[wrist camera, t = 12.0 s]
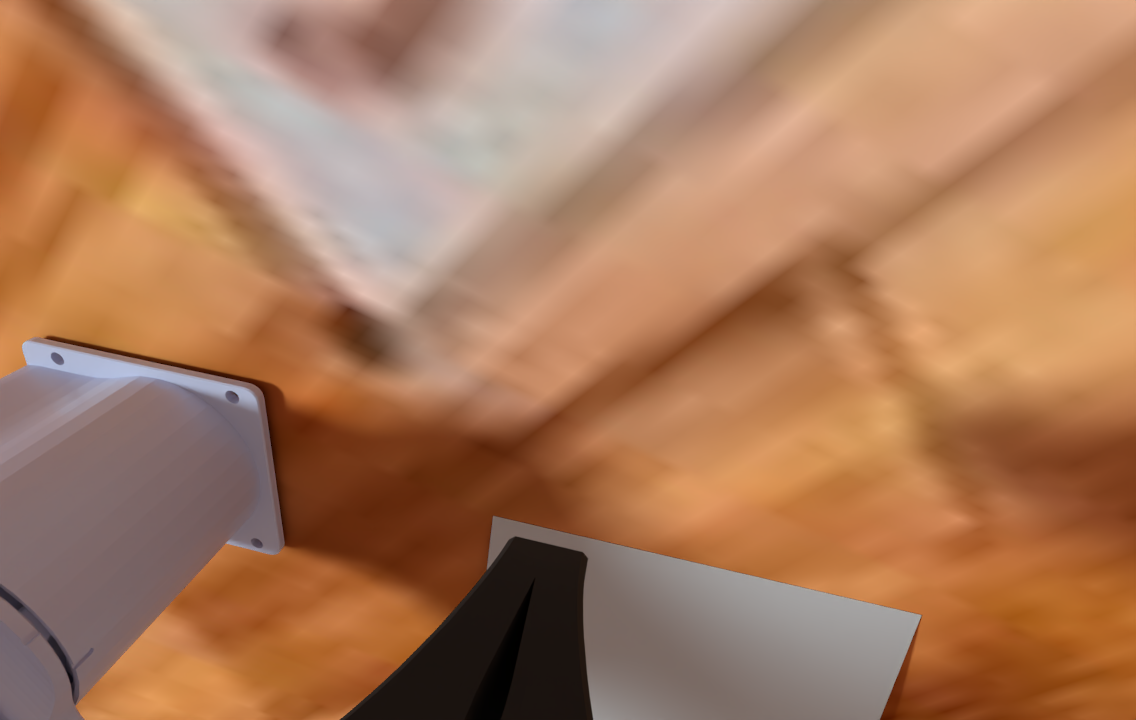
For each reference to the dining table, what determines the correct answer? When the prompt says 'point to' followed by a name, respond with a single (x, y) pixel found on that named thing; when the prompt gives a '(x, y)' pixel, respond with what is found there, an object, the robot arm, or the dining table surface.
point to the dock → (722, 639)
